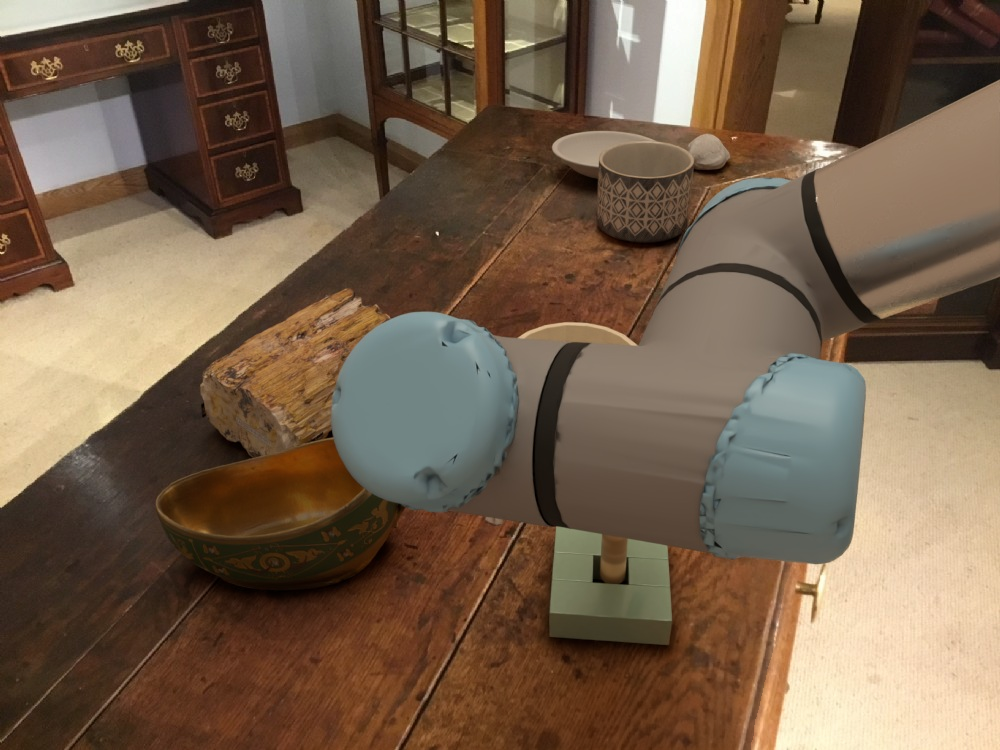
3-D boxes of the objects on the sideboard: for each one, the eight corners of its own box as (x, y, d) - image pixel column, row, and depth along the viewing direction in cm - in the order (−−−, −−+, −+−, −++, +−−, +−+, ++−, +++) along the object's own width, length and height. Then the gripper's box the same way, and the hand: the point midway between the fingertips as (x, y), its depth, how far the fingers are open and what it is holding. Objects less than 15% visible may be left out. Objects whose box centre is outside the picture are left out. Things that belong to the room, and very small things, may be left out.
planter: (686, 210, 125) (694, 142, 118) (686, 252, 115) (694, 179, 109) (600, 206, 127) (602, 139, 120) (592, 247, 117) (595, 175, 111)
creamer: (378, 646, 66) (361, 558, 60) (165, 583, 72) (130, 497, 66) (442, 529, 76) (433, 443, 70) (250, 482, 82) (226, 399, 76)
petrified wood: (328, 341, 100) (331, 272, 93) (415, 395, 95) (424, 327, 89) (195, 428, 87) (187, 355, 80) (288, 496, 82) (288, 424, 76)
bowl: (642, 456, 83) (646, 408, 79) (497, 449, 84) (495, 402, 81) (639, 369, 94) (643, 324, 90) (511, 365, 95) (510, 320, 92)
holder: (669, 645, 65) (672, 621, 64) (549, 637, 66) (549, 612, 65) (663, 554, 73) (666, 529, 71) (556, 547, 74) (556, 523, 72)
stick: (625, 586, 67) (637, 408, 56) (599, 584, 67) (607, 406, 57) (625, 566, 69) (637, 389, 58) (600, 565, 69) (607, 388, 58)
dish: (539, 190, 132) (539, 159, 129) (566, 155, 143) (567, 126, 140) (652, 204, 127) (654, 172, 124) (671, 166, 137) (674, 136, 134)
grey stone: (672, 157, 140) (675, 128, 138) (718, 151, 142) (721, 122, 139) (694, 178, 134) (697, 147, 131) (742, 171, 135) (746, 141, 132)
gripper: (397, 472, 48) (534, 496, 69) (651, 564, 42) (715, 558, 63) (438, 346, 48) (562, 408, 70) (695, 418, 42) (744, 462, 64)
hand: (635, 479), depth 67 cm, fingers closed on stick, 2 cm apart
